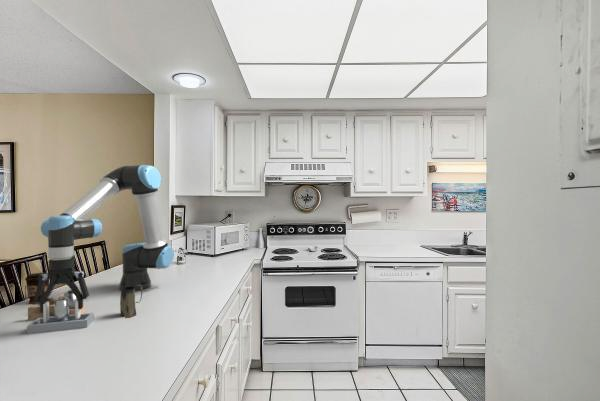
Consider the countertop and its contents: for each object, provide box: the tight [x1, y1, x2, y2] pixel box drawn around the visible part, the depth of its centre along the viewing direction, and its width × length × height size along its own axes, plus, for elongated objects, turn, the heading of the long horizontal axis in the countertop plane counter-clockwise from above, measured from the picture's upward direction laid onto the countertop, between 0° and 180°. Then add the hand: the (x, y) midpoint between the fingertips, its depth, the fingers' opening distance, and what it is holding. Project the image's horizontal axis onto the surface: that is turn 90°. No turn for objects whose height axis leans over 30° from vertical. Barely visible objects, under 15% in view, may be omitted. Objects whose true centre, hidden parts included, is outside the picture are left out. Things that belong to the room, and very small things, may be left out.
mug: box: [119, 285, 143, 319], centre depth 131 cm, size 8×6×12 cm
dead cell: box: [63, 289, 77, 309], centre depth 127 cm, size 4×4×11 cm
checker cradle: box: [25, 297, 56, 322], centre depth 131 cm, size 11×10×6 cm
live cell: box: [54, 295, 70, 322], centre depth 119 cm, size 4×4×11 cm
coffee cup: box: [24, 272, 50, 305], centre depth 149 cm, size 9×8×13 cm
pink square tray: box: [69, 302, 86, 315], centre depth 127 cm, size 7×7×5 cm
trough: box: [26, 312, 95, 335], centre depth 119 cm, size 18×8×3 cm, turn 107°
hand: (62, 319), depth 119 cm, fingers open, 9 cm apart
